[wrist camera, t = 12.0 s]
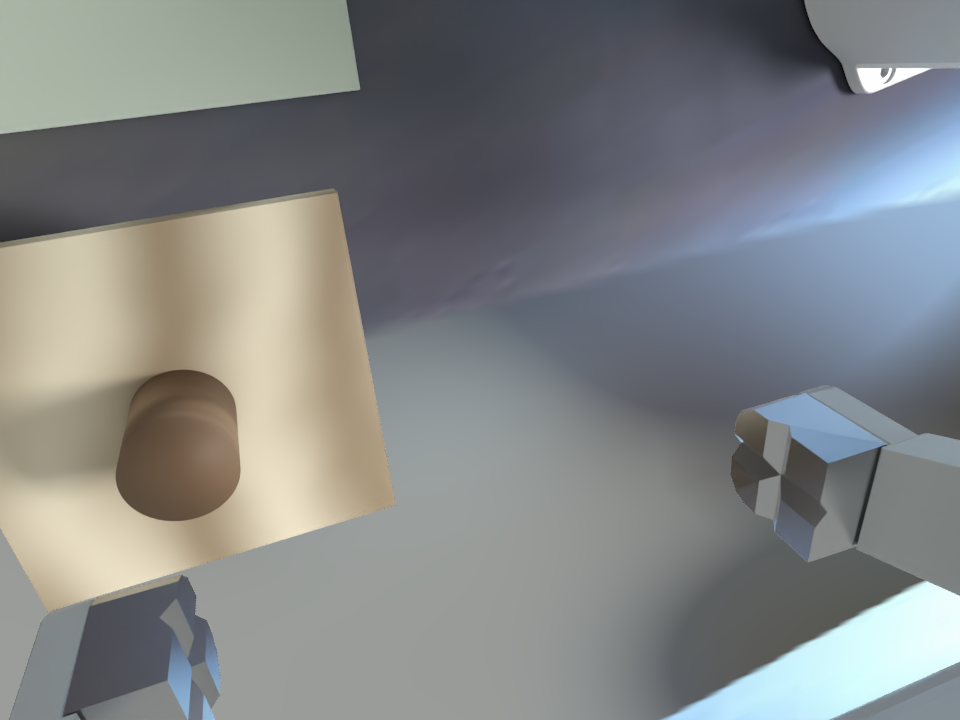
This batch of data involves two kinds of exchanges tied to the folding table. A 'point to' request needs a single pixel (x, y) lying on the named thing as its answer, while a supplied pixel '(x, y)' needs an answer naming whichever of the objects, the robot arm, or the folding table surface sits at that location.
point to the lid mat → (165, 57)
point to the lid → (182, 393)
